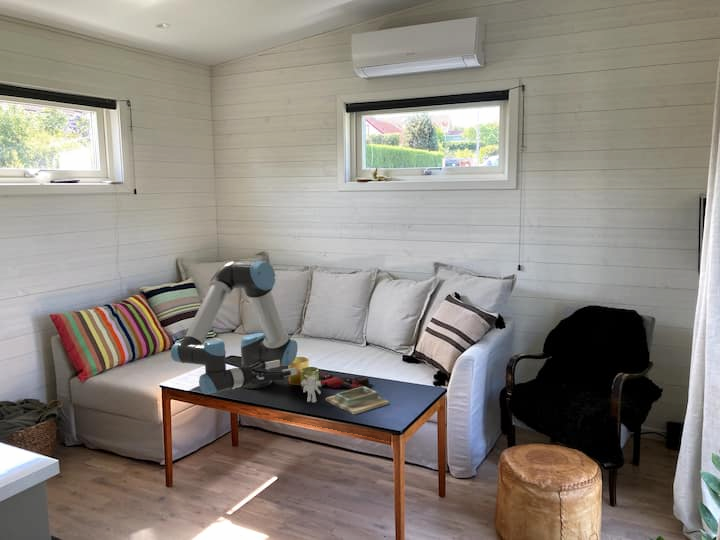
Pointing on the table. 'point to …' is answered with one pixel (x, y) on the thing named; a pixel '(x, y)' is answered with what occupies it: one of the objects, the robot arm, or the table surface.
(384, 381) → the table surface
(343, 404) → the jig board
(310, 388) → the hat wearing toy figure
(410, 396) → the table surface
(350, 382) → the toy motorcycle
